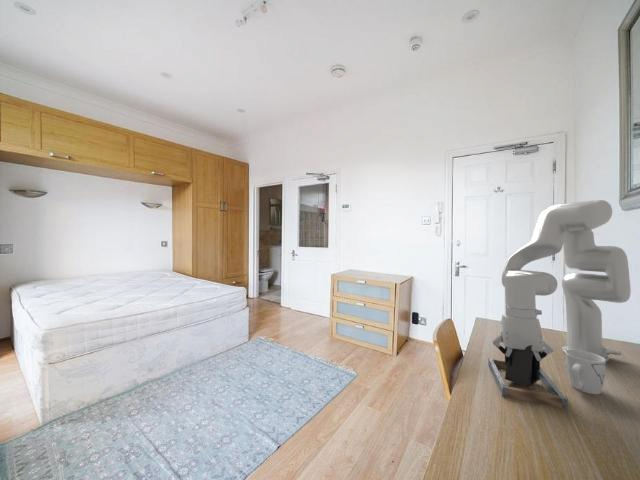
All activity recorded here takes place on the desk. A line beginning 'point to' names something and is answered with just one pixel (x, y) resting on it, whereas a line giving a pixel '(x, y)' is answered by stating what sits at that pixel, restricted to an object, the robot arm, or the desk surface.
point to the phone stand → (522, 367)
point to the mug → (585, 370)
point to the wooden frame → (548, 399)
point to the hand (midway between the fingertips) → (522, 369)
